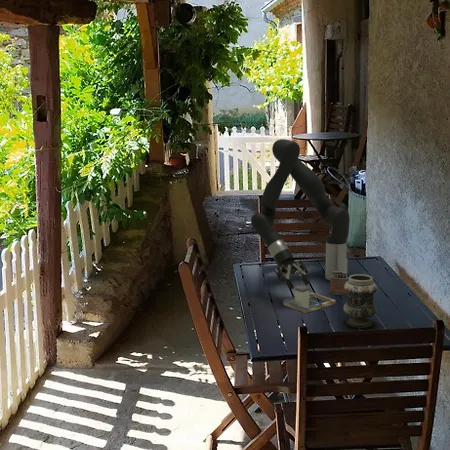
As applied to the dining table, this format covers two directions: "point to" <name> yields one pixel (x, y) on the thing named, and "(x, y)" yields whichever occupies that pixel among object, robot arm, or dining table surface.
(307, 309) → the bay tray
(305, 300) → the cream tall block
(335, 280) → the lighter
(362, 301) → the apothecary jar
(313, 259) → the dining table surface
